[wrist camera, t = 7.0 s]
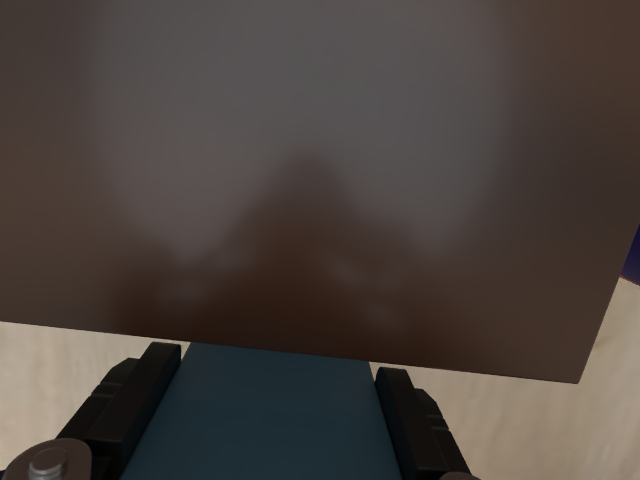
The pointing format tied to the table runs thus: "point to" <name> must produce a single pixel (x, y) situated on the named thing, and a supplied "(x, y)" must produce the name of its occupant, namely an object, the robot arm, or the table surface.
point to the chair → (265, 420)
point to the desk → (323, 175)
